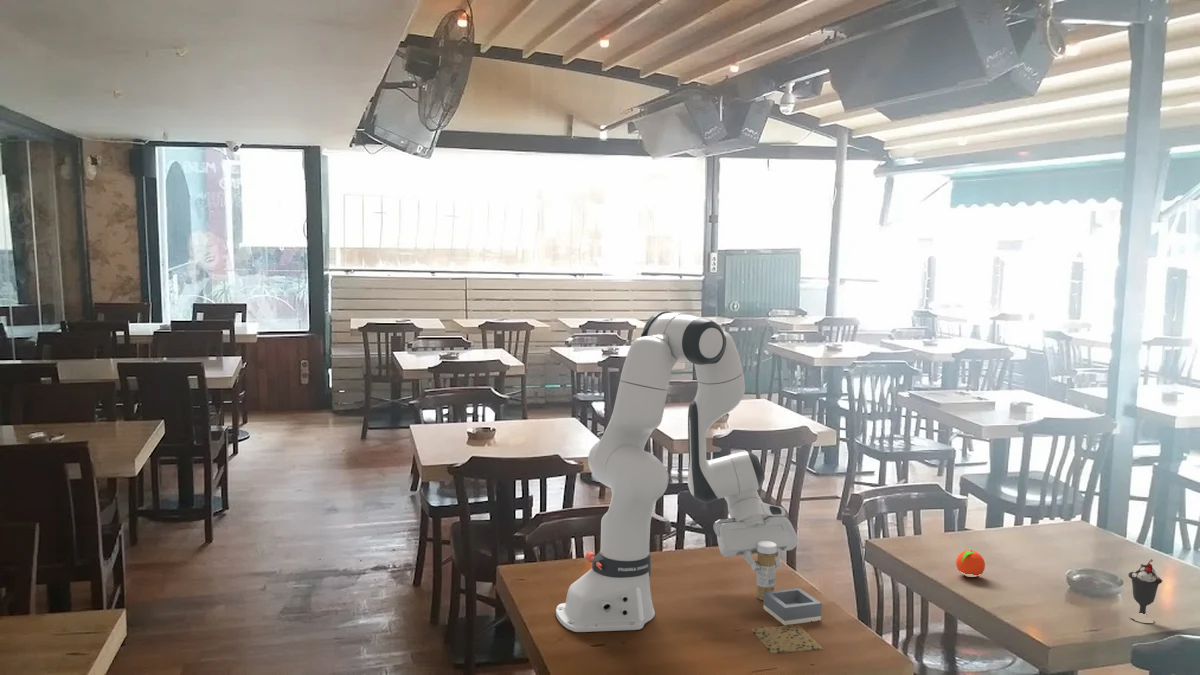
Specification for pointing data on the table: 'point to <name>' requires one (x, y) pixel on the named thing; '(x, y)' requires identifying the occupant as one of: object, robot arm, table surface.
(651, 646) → the table surface
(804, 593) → the block
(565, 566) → the table surface
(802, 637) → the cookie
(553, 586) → the table surface
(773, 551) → the sprinkles bottle
